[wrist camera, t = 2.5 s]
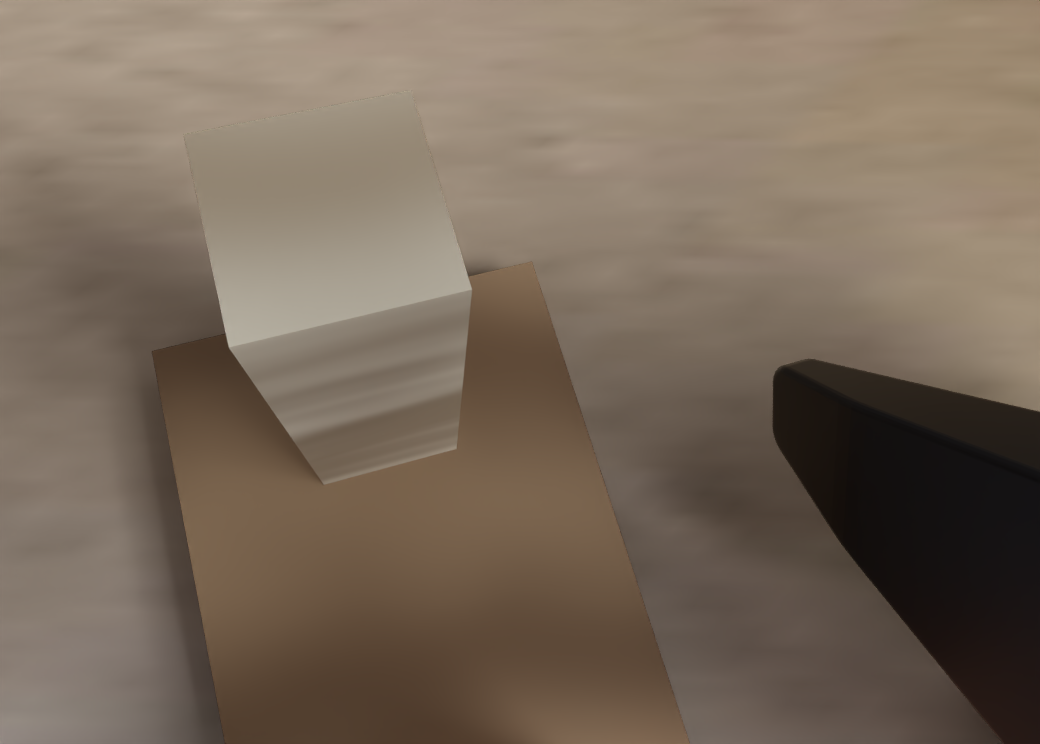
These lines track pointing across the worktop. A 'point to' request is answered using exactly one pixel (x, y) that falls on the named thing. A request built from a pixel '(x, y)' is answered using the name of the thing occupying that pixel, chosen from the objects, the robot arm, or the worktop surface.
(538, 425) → the wooden base with post
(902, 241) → the worktop surface
